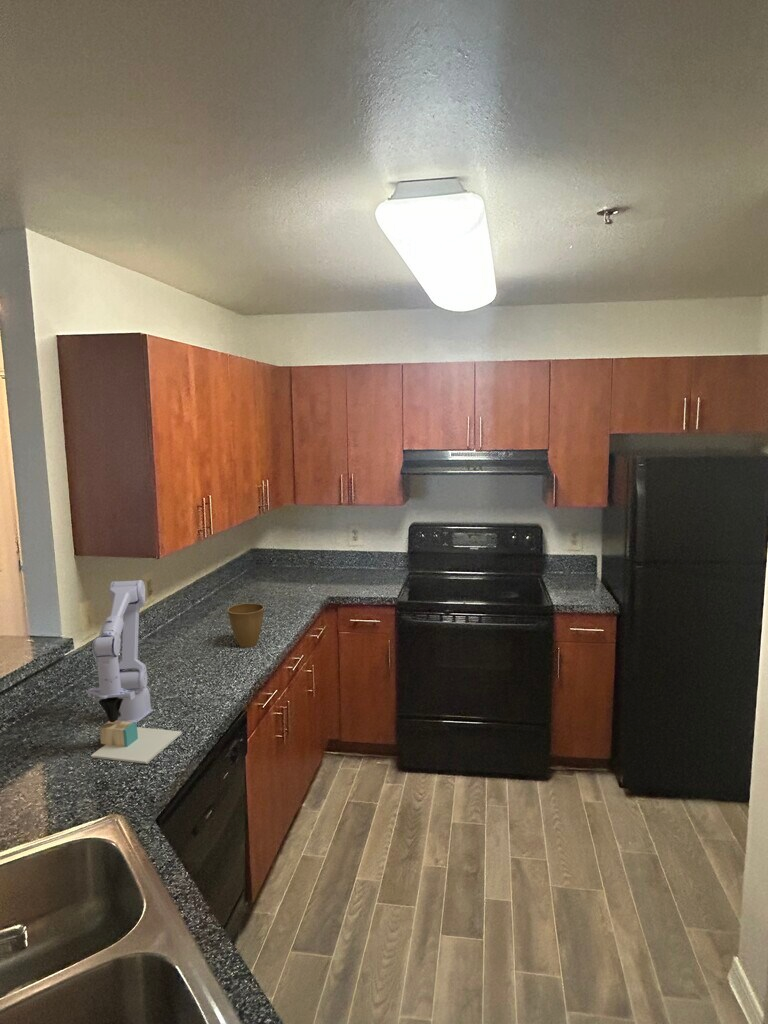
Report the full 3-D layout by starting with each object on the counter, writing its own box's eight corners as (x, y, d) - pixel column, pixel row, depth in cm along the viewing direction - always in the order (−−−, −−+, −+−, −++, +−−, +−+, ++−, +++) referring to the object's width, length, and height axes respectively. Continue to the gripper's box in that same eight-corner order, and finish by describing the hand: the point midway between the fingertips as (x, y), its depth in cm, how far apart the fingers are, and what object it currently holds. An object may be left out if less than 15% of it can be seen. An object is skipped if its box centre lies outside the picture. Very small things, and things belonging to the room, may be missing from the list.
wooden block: (110, 720, 197) (136, 722, 194) (111, 735, 197) (138, 738, 195) (99, 727, 192) (125, 730, 190) (100, 743, 193) (127, 746, 190)
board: (130, 728, 203) (130, 726, 203) (182, 733, 199) (181, 731, 199) (90, 757, 186) (90, 755, 186) (146, 763, 181) (146, 761, 181)
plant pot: (223, 650, 271) (221, 612, 269) (240, 638, 285) (237, 602, 283) (257, 651, 268) (254, 613, 265) (271, 639, 282) (269, 603, 280)
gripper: (78, 680, 189) (83, 724, 191) (122, 683, 186) (126, 728, 188) (95, 671, 196) (99, 714, 198) (137, 674, 193) (141, 717, 194)
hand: (113, 720), depth 193 cm, fingers closed
